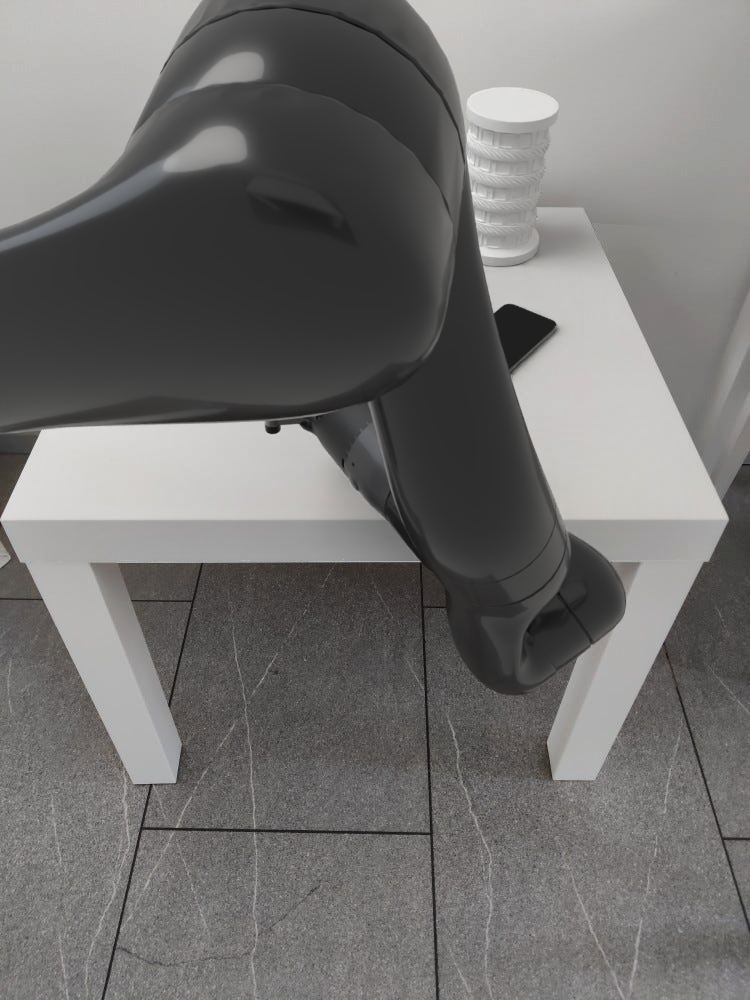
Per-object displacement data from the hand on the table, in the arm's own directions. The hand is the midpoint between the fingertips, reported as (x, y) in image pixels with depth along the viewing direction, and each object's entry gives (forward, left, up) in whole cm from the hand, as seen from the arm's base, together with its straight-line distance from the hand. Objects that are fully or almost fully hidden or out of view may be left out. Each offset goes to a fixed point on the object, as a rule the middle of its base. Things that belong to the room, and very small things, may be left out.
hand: (286, 332), depth 66 cm
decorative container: (+39, +26, -14) cm, 49 cm away
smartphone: (+27, +6, -14) cm, 31 cm away
